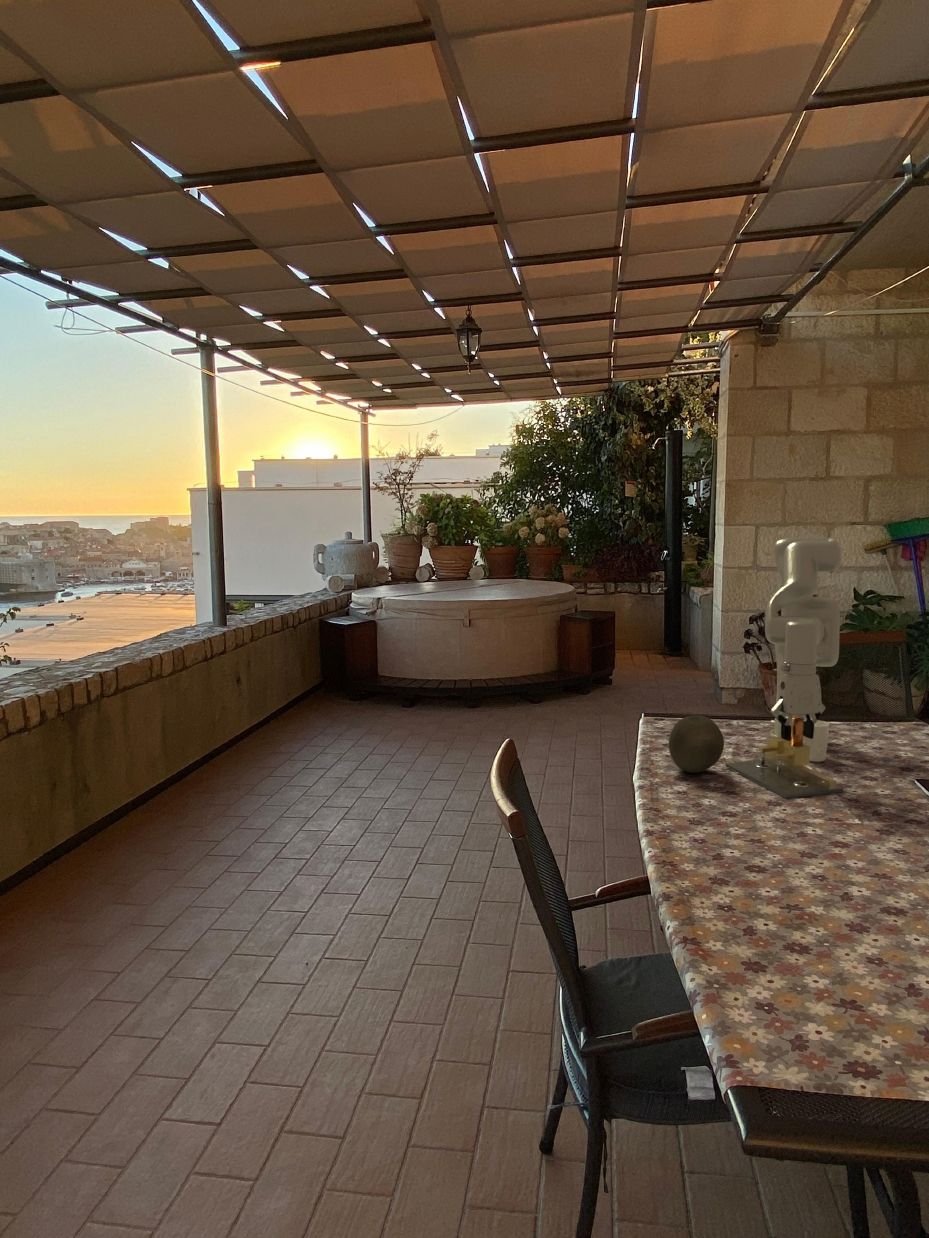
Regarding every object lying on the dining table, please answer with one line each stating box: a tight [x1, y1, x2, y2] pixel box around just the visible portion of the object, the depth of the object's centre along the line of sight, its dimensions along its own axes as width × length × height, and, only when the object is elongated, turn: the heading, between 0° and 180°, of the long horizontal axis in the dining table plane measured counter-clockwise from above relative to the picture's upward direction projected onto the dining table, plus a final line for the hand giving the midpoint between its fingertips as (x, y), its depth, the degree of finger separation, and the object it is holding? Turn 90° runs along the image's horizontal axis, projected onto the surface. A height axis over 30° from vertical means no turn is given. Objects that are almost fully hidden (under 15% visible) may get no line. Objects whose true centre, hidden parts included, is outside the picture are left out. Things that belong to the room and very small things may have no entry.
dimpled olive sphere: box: [668, 715, 725, 774], centre depth 218 cm, size 14×14×15 cm
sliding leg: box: [775, 717, 810, 773], centre depth 213 cm, size 4×8×14 cm, turn 104°
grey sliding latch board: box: [724, 736, 844, 799], centre depth 212 cm, size 26×16×8 cm, turn 15°
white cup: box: [803, 719, 830, 763], centre depth 229 cm, size 8×8×10 cm
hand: (797, 737), depth 213 cm, fingers open, 5 cm apart
